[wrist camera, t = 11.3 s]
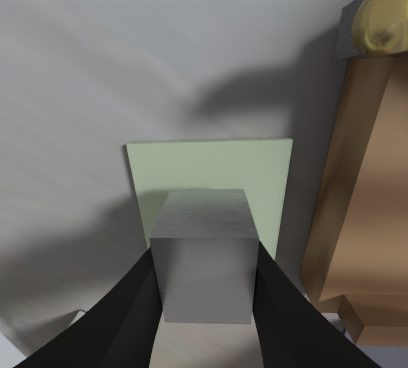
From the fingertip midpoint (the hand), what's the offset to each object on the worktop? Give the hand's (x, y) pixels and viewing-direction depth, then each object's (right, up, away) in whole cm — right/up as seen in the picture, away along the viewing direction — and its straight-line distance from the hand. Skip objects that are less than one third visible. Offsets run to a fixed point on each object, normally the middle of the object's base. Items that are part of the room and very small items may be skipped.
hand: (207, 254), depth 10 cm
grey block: (0, +1, +2) cm, 2 cm away
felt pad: (0, +2, +4) cm, 5 cm away
